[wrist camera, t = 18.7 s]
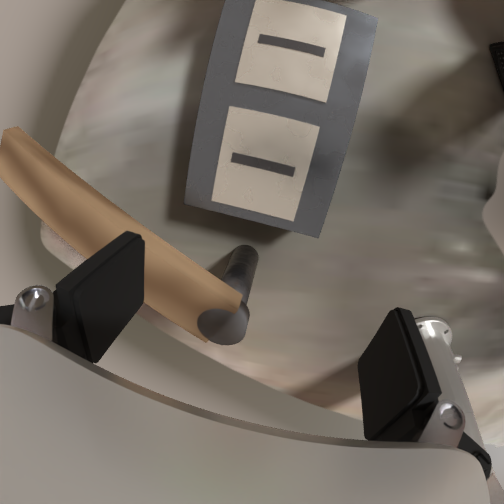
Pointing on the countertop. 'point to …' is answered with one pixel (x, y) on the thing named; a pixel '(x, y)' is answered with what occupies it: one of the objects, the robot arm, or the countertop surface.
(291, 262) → the countertop surface
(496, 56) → the portable radio
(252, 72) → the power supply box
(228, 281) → the post
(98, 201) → the swing arm
